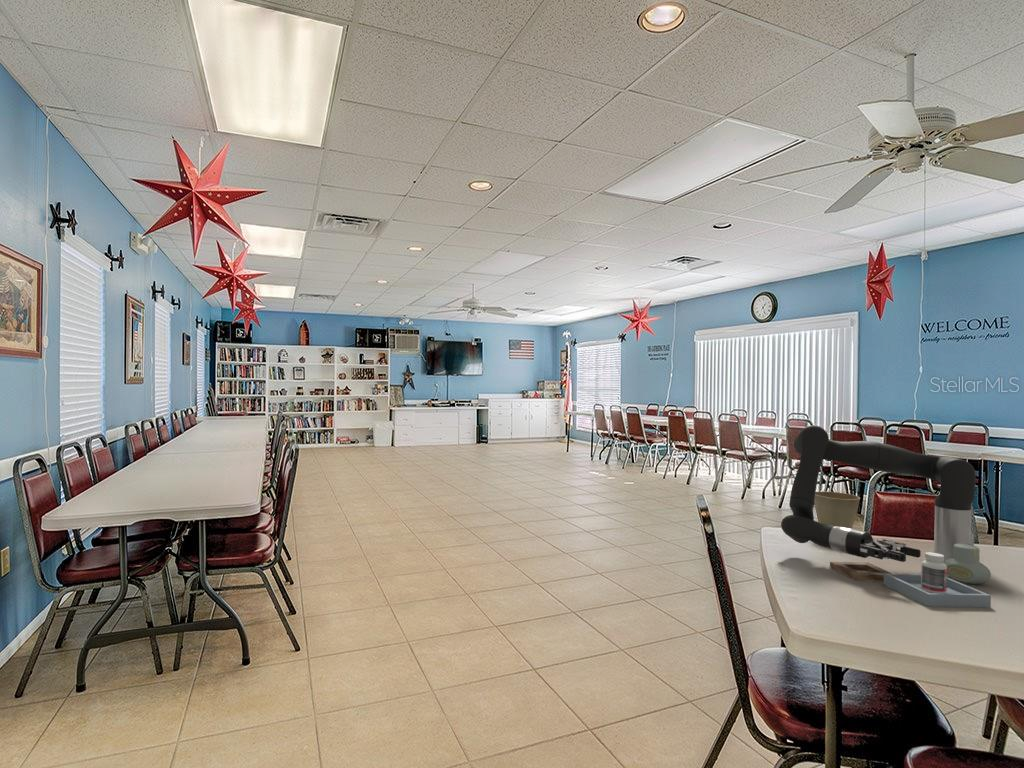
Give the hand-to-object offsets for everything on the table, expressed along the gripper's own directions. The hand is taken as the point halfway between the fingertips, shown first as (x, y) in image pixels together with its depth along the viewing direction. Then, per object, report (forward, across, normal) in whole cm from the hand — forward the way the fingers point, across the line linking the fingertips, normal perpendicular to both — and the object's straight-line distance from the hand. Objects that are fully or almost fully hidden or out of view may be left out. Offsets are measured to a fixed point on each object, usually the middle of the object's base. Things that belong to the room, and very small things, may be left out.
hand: (912, 555), depth 151 cm
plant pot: (-40, +36, +9) cm, 55 cm away
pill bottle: (+5, 0, +8) cm, 10 cm away
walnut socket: (-14, +2, +9) cm, 16 cm away
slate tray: (+5, 0, +9) cm, 10 cm away
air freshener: (+4, +22, +9) cm, 25 cm away
